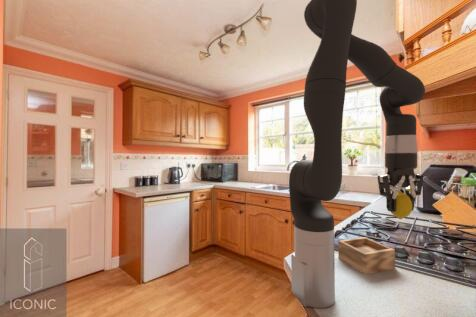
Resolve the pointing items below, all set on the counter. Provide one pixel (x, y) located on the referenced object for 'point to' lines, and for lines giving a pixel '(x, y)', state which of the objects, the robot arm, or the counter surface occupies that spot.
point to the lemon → (402, 206)
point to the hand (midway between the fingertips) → (400, 210)
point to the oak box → (366, 255)
